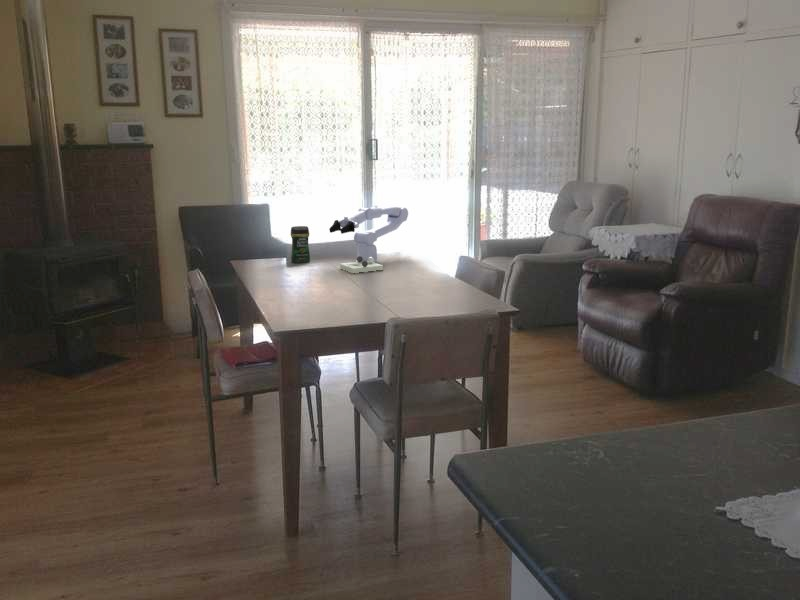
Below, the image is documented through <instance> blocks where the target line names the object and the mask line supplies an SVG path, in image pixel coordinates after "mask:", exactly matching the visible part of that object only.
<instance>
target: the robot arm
mask: <svg viewBox="0 0 800 600" xmlns="http://www.w3.org/2000/svg"><path fill="white" fill-rule="evenodd" d="M383 215H387V218H386V219H387V220H386V222H385V223H383V224H380V225H378V226H376V227H373V228H371V229H369V230H362V231H356V230H355V229H358V228H360V225H361V224H362V223H364V222H366V221H367V220H368V221H369V220H370V221H372V220H373V219H378V218H381V217H382V216H383ZM408 216H409V209H408V208H406V207H398V206H387V207H380V206H378V205H374V206H373V207H371V206H368V207H367V208H365V207H360V208H359V209H358V210H357V212H355V213H354V214H352V215H350V216H344V218H343V219H341V220H338V219H336V220H334V222H333V223H332V225H331V226H330V227H329V229H328V230H329V233H335V232H337V231H338V232H339V231H340V234H342V235H343V234H346V233H350V232H351V233H352V232H353V233H354V232H355V231H356V232H355V233H354V236H353V240H354V242H355V244H356V246H357V257H358V256H361V257H362V258H363V261H364V260H366V261H367V259H368V258H369V257H372V258H373V259H374V262H375V263H378V254H377V253H378V249H377V246H376V245H375V244H374V243H375V242H376V241H377V240H378V239H379V238H380V237H383V236H385V235H387V234H389V233H392V232H394V231H396V230H398V228H399V227H400V226H401V225H402V224H403V223H404V222H406V221H407V220H408ZM354 262H358V261H357V259H356V260H354Z"/></svg>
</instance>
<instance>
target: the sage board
mask: <svg viewBox="0 0 800 600" xmlns="http://www.w3.org/2000/svg"><path fill="white" fill-rule="evenodd" d="M362 262H363V261H362ZM362 262H355V261H353V262H342V263H339V268H341V269H340V270H342V269H343V271H345V270H346V272H347V271H348V273H350V272H351V274H352V273H355V274H360V273H359V272H364V273H369V272H368V271H374V272H377V271H376V270H383V271H384V265H383V264H380V263H378V262H373V263H371V264H370V263H368V265H367V266H366V267H364V266H362ZM367 262H368V261H367Z"/></svg>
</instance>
